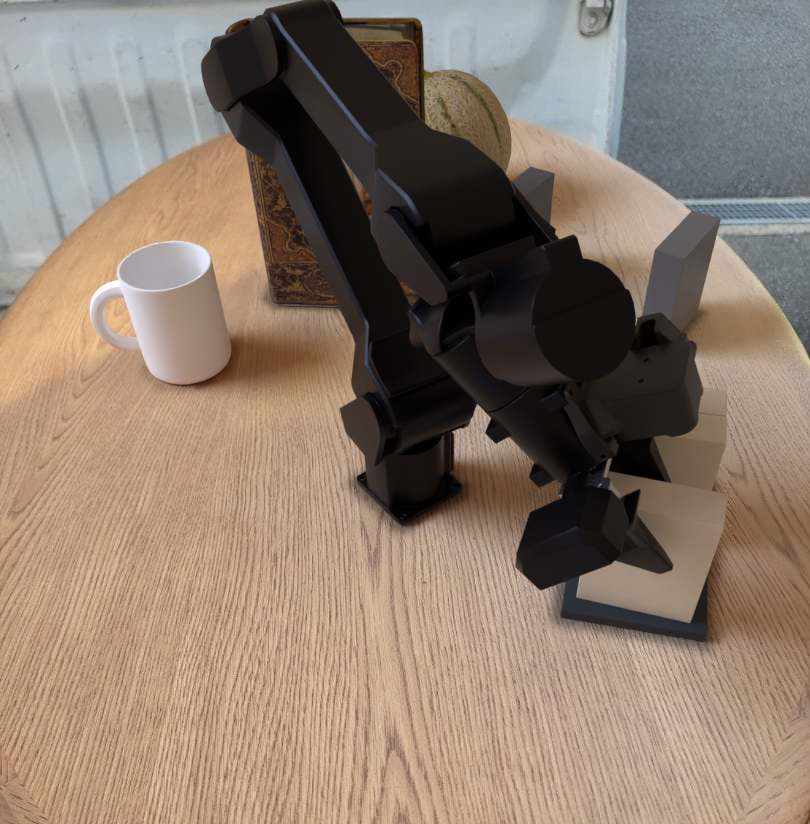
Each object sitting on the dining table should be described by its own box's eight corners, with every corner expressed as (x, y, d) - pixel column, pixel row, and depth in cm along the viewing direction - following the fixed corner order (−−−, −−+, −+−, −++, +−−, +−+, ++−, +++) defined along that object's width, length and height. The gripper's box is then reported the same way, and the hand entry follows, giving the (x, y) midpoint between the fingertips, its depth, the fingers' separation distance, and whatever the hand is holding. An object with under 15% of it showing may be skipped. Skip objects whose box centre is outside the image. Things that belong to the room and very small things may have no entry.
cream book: (576, 597, 63) (593, 501, 55) (583, 567, 64) (601, 469, 57) (690, 623, 61) (724, 527, 53) (694, 591, 63) (728, 493, 55)
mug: (101, 394, 81) (65, 298, 74) (114, 341, 87) (82, 246, 79) (230, 384, 82) (207, 287, 74) (235, 332, 87) (214, 237, 79)
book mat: (560, 617, 62) (576, 514, 54) (583, 465, 73) (600, 360, 65) (704, 641, 61) (743, 539, 53) (707, 483, 71) (741, 376, 63)
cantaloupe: (516, 233, 98) (525, 93, 86) (385, 242, 97) (377, 103, 86) (498, 171, 107) (503, 39, 96) (379, 180, 107) (371, 47, 96)
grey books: (663, 354, 82) (685, 258, 75) (484, 291, 90) (488, 199, 83) (697, 312, 86) (721, 218, 79) (523, 256, 94) (530, 165, 87)
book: (266, 305, 90) (218, 41, 71) (276, 276, 94) (234, 17, 75) (424, 309, 88) (418, 41, 70) (428, 279, 92) (424, 17, 73)
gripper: (600, 417, 40) (782, 619, 46) (655, 222, 52) (795, 401, 57) (437, 502, 48) (609, 666, 53) (517, 315, 59) (652, 466, 65)
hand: (672, 541), depth 57 cm, fingers open, 5 cm apart
